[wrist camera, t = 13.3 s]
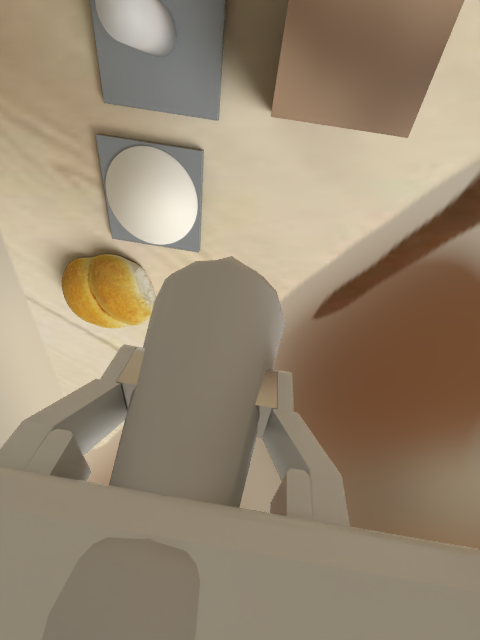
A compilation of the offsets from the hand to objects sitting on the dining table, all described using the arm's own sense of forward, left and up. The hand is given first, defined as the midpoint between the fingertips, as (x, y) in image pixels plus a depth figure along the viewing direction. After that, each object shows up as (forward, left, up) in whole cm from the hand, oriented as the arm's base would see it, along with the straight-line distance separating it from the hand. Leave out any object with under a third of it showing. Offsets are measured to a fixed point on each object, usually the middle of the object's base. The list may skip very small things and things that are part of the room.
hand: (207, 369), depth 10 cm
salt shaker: (0, 0, -5) cm, 5 cm away
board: (-11, -7, -17) cm, 21 cm away
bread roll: (+9, -13, -18) cm, 24 cm away
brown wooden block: (-11, +4, -17) cm, 21 cm away
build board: (-1, -8, -17) cm, 19 cm away
